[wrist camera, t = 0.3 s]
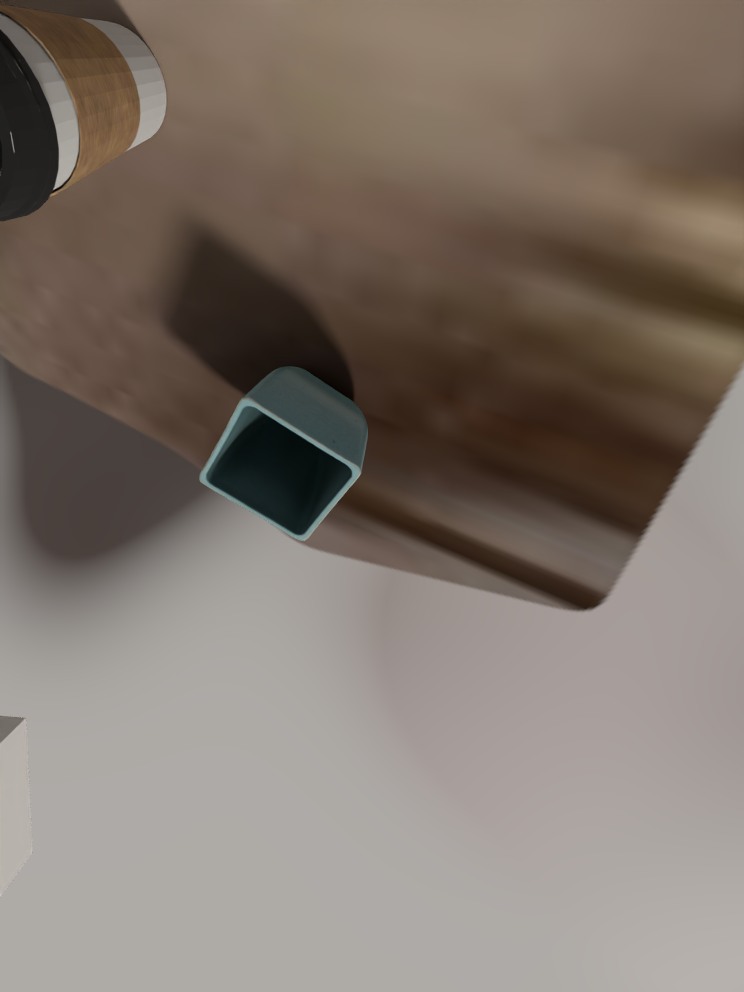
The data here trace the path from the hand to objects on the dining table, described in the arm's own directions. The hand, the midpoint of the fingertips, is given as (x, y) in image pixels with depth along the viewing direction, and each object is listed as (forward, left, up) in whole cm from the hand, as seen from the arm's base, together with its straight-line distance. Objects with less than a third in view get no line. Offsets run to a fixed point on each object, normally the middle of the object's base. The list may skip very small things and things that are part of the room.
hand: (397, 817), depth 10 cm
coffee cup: (-15, -19, -34) cm, 42 cm away
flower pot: (+8, -16, -34) cm, 39 cm away
